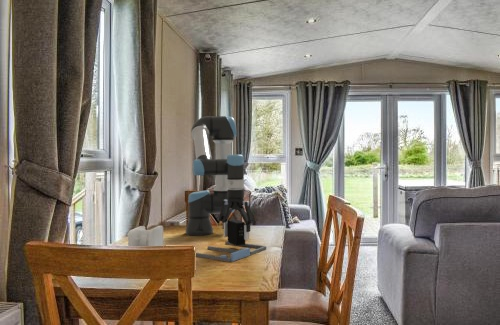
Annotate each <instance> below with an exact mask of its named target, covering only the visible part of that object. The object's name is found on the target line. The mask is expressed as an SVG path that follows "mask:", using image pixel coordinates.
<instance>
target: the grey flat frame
mask: <svg viewBox="0 0 500 325" xmlns="http://www.w3.org/2000/svg"><path fill="white" fill-rule="evenodd" d="M225 245H230V246H231V245H232V246H235V245H234V244H231V243H229V242H228V240H226V241H225ZM239 246H240V247H246V248H240V249H233V248H225V247H218V246H212V245H211V246H210V245H208V246H207V250H211V251H212V250H213V251H219V252H224V253H230V257H228V255H227V254H221V255H212V254H206V253H200V252H195V253H196V256H195V257H197V258H203V259H211V260H215V261H222V262H223V261H224V262H229V263H230V262H235V261H237V260H240V259H241V260H242V259H244V258H247V257H249V256H252V255H255V254H256V253H260V252H263V251H266V250H267V246H266V245H260V244H253V243H246V242H245V245H238V247H239ZM251 248H255V249H254V250H253V249H252V250H251Z"/></svg>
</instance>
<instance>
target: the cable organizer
mask: <svg viewBox="0 0 500 325" xmlns="http://www.w3.org/2000/svg"><path fill="white" fill-rule="evenodd" d="M162 245H163V246H164V226H163V225H156V226H154V227H153V228H150V229H146V227H145V225H139V226H137V227H135V228H133V229H130V230H129V231H128V233H127V247H128V246H162Z"/></svg>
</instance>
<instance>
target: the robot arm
mask: <svg viewBox="0 0 500 325" xmlns="http://www.w3.org/2000/svg"><path fill="white" fill-rule="evenodd" d="M190 132H191V133H190V134H191V138H192V139H193V144H194V151H195V153H194V154H195V159H192V160H193V161H192V174H193V175H194V176H200V177H202V176H204V177H205V176H215V187H214V188H213V191H212V192H210V190H208V189H206V190H200V191H194V192H191V193H189V194H188V198H187V199H188V200H187V202H188V222H187V224H186V228H185V234H186V236H187V235H188V236H197V237H198V236H208V235H213V234H214V228H213V224H212V222H211V216H210V215H211V214H212V215H214V214H215V215H216V214H219V217H218V221H221V222H222V225H221V226H222V230H223V237H224V238H228V220H229V218H230V216H231V214H232V213H234V212H235V210H236V211H238V212H239V214H240V215H241V217H242V220H243V222H245V225H244V240H245V241H247V240H250V232H251V224H254V223H255V219H254V215H253V212H252V207H251V202H250V200H247V201H246V200H245V199H244V198H245V190H244V188H245V177H244V176H245V174H244V173H245V171H244V170H245V168H244V167H245V166H244V165H245V160H244V155H242V154H232V143H233V142H234V138H237V135H238V134H237V124H236V121H235V118H234V117H232V116H227V115H222V116H221V115H219V116H217V115H216V116H215V115H214V116H213V115H212V116H211V115H208V116H207V115H206V116H202V117H200V118H198V119H197V120H196V121H195V122H194V123H193V124H192V126H191V130H190ZM210 138H212V142H214V144H215V158H213V156H212V152H211V147H210V141H209V140H210Z"/></svg>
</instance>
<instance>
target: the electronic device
mask: <svg viewBox="0 0 500 325" xmlns="http://www.w3.org/2000/svg"><path fill="white" fill-rule="evenodd" d="M227 222H228V237H227V241H228V242H229V243H231V244H234V245H233V246H238V245H245V243H246V240H244V225H245V222H244V221H241V220H238V219H228V220H227ZM238 247H239V246H238Z"/></svg>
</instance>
